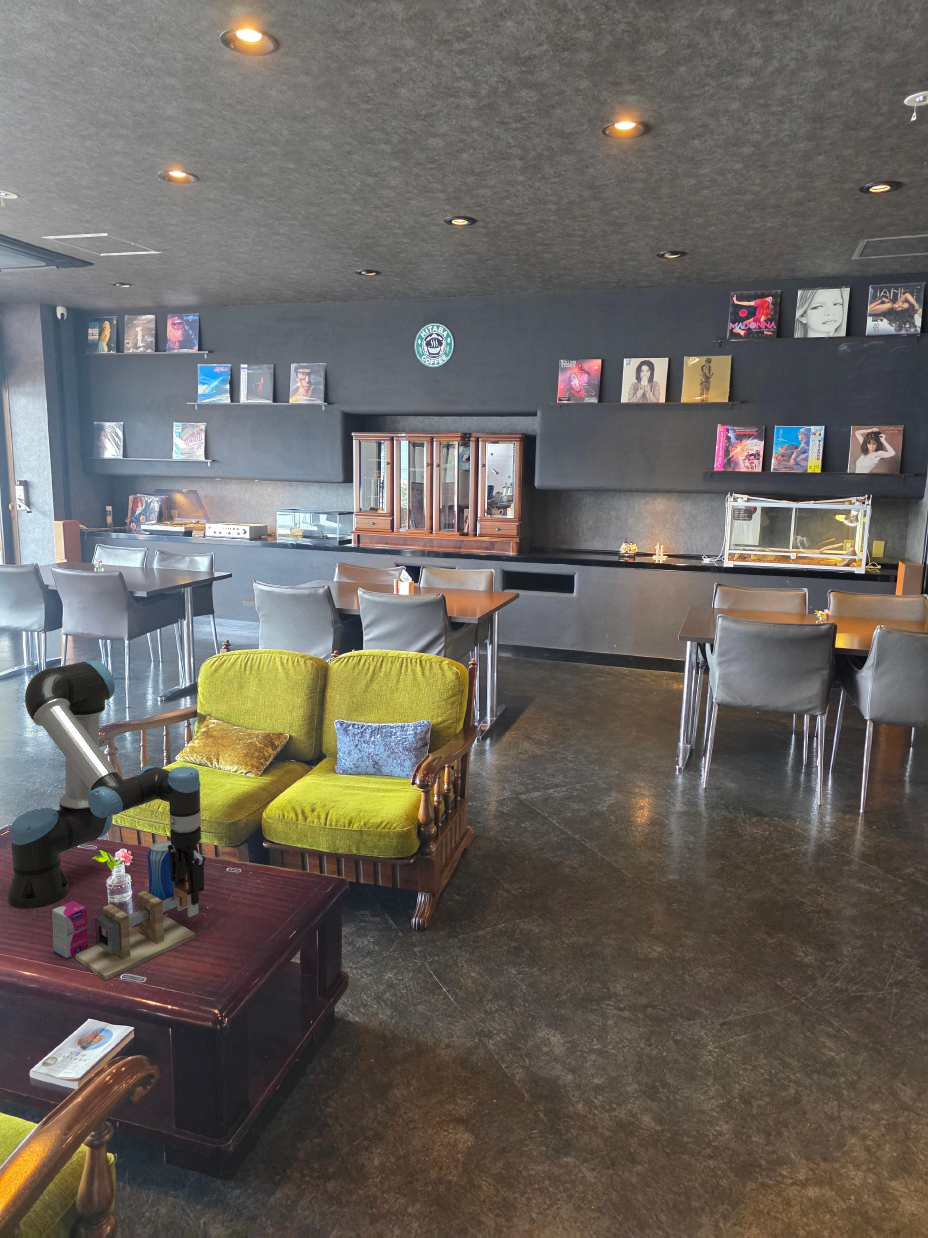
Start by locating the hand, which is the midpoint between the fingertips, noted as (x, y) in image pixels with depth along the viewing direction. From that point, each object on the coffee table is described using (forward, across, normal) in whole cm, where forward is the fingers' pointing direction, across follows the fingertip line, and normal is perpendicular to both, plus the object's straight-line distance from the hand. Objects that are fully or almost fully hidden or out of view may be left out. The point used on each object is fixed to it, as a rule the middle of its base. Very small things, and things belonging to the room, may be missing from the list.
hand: (187, 911), depth 214 cm
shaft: (-3, 0, -11) cm, 12 cm away
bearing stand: (+4, 0, -15) cm, 15 cm away
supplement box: (+4, -11, -26) cm, 28 cm away
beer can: (+4, -16, +3) cm, 17 cm away
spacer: (0, 0, -22) cm, 22 cm away
